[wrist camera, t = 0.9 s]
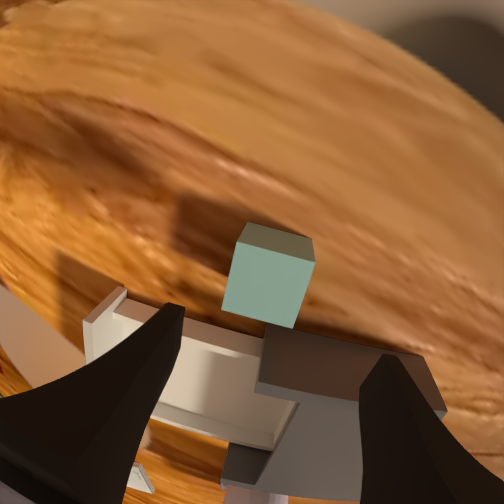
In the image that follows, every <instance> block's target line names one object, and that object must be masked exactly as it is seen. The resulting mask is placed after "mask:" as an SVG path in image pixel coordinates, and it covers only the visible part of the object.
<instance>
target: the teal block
mask: <svg viewBox="0 0 504 504" xmlns="http://www.w3.org/2000/svg"><path fill="white" fill-rule="evenodd" d="M314 266H315V256H314V250H313V244H312V239H310V238H307V237H303V236H299V235H296V234H292V233H288V232H285V231H281V230H277V229H274V228H270V227H266V226H262V225H258V224H255V223H251V222H247V224H246V226H245V228H244V229H243V231H242V233H241V235H240V237H239V239H238V240H237V243H236V247H235V252H234V256H233V260H232V265H231V269H230V273H229V278H228V282H227V286H226V291H225V295H224V300H223V304H222V308H221V310H224V311H228V312H231V313H235V314H238V315H242V316H246V317H250V318H253V319H257V320H261V321H265V322H268V323H272V324H276V325H280V326H284V327H288V328H292V329H293V326H294V323H295V321H296V318H297V315H298V312H299V309H300V307H301V304H302V301H303V298H304V295H305V292H306V289H307V287H308V284H309V281H310V278H311V275H312V272H313V269H314Z"/></svg>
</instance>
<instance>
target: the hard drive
mask: <svg viewBox="0 0 504 504" xmlns="http://www.w3.org/2000/svg"><path fill="white" fill-rule="evenodd" d="M127 486H128V487H131V488H134V489H138V490H141V491H144V492H148V493H152V494H153V493H154V491H155V489H154V487H153V485H152V483H151V482H150V480H149V478H148V476H147V474H146V472H145V470H144V468H143V466H142V464H141V463H138V462H134V463H133V466H132V469H131V473H130V476H129V480H128V483H127Z"/></svg>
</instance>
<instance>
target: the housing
mask: <svg viewBox="0 0 504 504" xmlns="http://www.w3.org/2000/svg"><path fill="white" fill-rule="evenodd" d="M383 353H384V354H390V355H395V356H397V357H398V358H399V360H400V361H401V362H402V364H403V365H404V367H405V368H406V370H407V371H408V373H409V374H410V376H411V377H412V379H413V380H414V382H415V384H416V385H417V387H418V388H419V390H420V391H421V393H422V394H423V396H424V397H425V399H426V400H427V402H428V403H429V405H430V406H431V408H432V409H433V411H434V412H435V413H436V415H437V416H438V417H439V419H440V420H441V419H442V418H443V417H444V416H445V414H446V413H447V412H448V411H447V408H446V406H445V403H444V401H443V399H442V397H441V394H440V392H439V390H438V388H437V385H436V383H435V381H434V379H433V377H432V374H431V372H430V370H429V368H428V366H427V364H426V362H425V359H424V357H422V356H417V355H411V354H406V353H401V352H395V351H390V350H385V349H380V348H375V347H370V346H366V345H361V344H356V343H352V342H347V341H342V340H338V339H334V338H329V337H325V336H321V335H316V334H312V333H308V332H304V331H299V330H295V329H291V328H287V327H283V326H279V325H275V324H272V323H268V322H267V326H266V329H265V332H264V337H263V343H262V349H261V355H260V360H259V366H258V372H257V378H256V383H255V389H254V393H258V394H262V395H266V396H270V397H275V398H279V399H284V400H289V401H293V402H298V403H297V405H296V407H295V409H294V411H293V413H292V415H291V417H290V419H289V421H288V423H287V425H286V427H285V428H284V430H283V432H282V434H281V436H280V438H279V440H278V442H277V443H276V445H275V447H274V449H273V451H268V450H263V449H258V448H253V447H249V446H244V445H240V444H236V443H232V442H229V444H228V449H227V453H226V457H225V461H224V466H223V470H222V474H221V478H220V482H219V483H223V484H228V485H232V486H237V487H241V488H246V489H251V490H257V491H262V492H268V493H274V494H280V495H287V496H295V497H303V498H313V499H324V500H339V501H360V498H361V489H362V475H363V460H362V447H361V435H360V423H359V387H360V386H361V384H362V383H363V382H364V380H365V379H366V377H367V376H368V374H369V373H370V372H371V370H372V369H373V367H374V366H375V364H376V363H377V361H378V360H379V358H380V357H381V355H382V354H383Z"/></svg>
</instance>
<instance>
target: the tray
mask: <svg viewBox="0 0 504 504" xmlns="http://www.w3.org/2000/svg"><path fill="white" fill-rule="evenodd" d="M126 297H127V289H126V288H124V287H121V286H118V287H117V288H116V289H115V290H113V291H112V292H111V293H110V294H109V295H108V296H107V297H106V298H105V299H104V300H103V301H102V302H101V303H100V304H99V305H98V306H96V307H95V308H94V309H93V310H92V311H91V312H90V313H89V314H88V315H87V316H86V317H85V318H84V319H83V335H84V348H85V358H86V365H87V364H89V363H90V362H92V361H94V360H95V359H97V358H98V357H100V356H102V355H103V354H105V353H106V352H108V351H109V350H110V349H112V348H113V347H115V346H116V345H117V344H119V343H120V342H121V341H123V340H124V339H125V338H127V337H128V336H129V335H131V334H132V333H133V332H134V331H135V330H137V329H138V328H139V327H140V326H142V325H143V324H144V323H145V322H146V321H147V320H148V319H150V318H151V317H152V316H153V315H154V314H155V313H156V312H157V311H158V310H159V309H158V308H155V307H152V306H149V305H146V304H143V303H140V302H137V301H134V300H131V299H128V298H126ZM262 343H263V339H261V338H257V337H253V336H250V335H246V334H242V333H238V332H235V331H231V330H228V329H224V328H220V327H217V326H213V325H210V324H207V323H203V322H200V321H196V320H193V319H190V318H186V317H184V322H183V331H182V340H181V348H180V351H179V354H178V357H177V360H176V362H175V365H174V368H173V371H172V373H171V375H170V377H169V379H168V381H167V384H166V386H165V388H164V390H163V392H162V394H161V396H160V398H159V400H158V402H157V404H156V406H155V408H154V410H153V412H152V414H151V416H150V418H152V419H155V420H158V421H161V422H164V423H167V424H170V425H173V426H176V427H179V428H182V429H185V430H188V431H192V432H195V433H198V434H202V435H205V436H209V437H212V438H216V439H220V440H224V441H228V442H232V443H236V444H240V445H244V446H249V447H253V448H258V449H263V450H268V451H273V449H274V447H275V445H276V443H277V442H278V440H279V438H280V436H281V434H282V432H283V430H284V428H285V427H286V425H287V423H288V421H289V419H290V417H291V415H292V413H293V411H294V409H295V407H296V405H297V403H298V402H293V401H289V400H284V399H279V398H275V397H270V396H266V395H262V394H258V393H254V389H255V383H256V378H257V372H258V366H259V360H260V355H261V349H262Z"/></svg>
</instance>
